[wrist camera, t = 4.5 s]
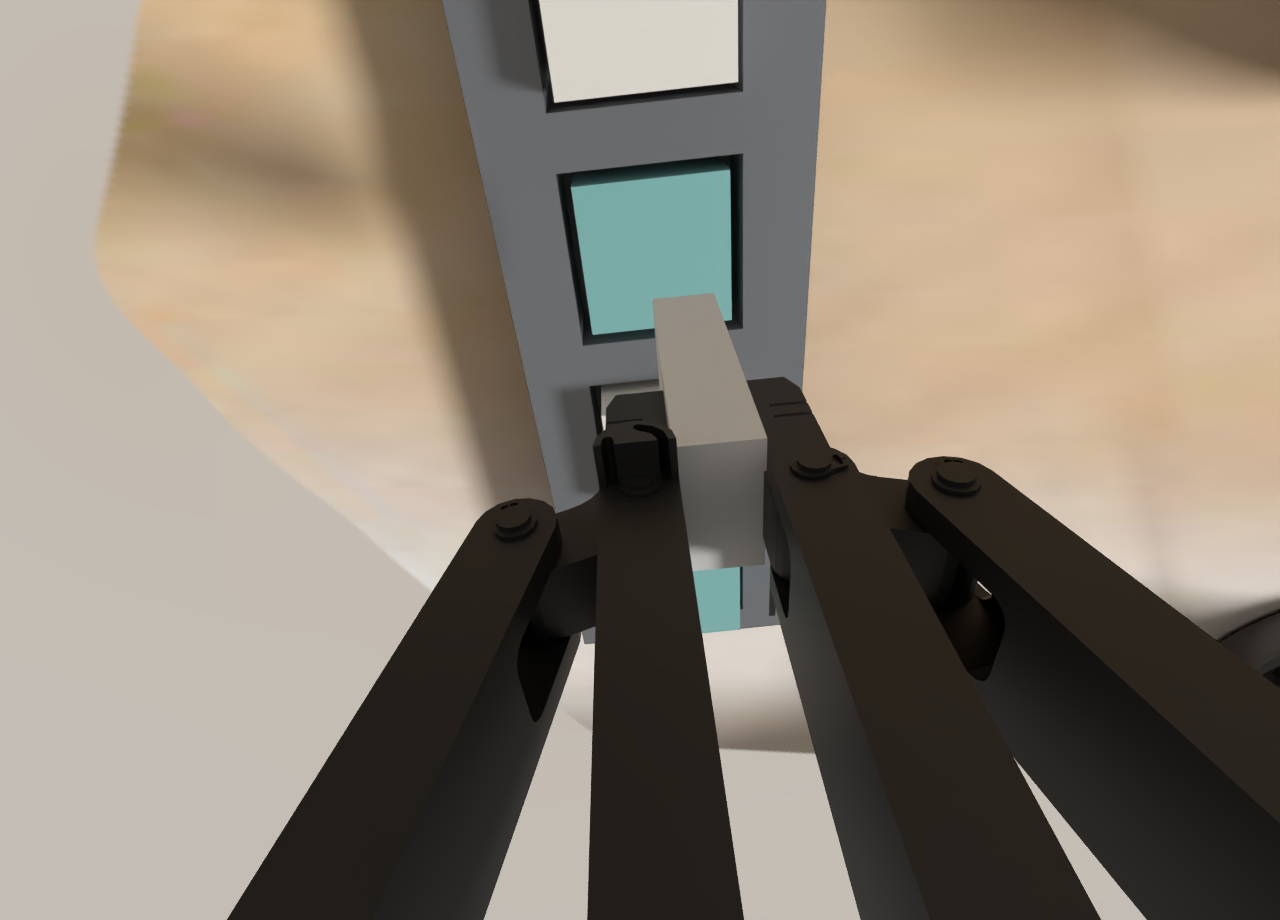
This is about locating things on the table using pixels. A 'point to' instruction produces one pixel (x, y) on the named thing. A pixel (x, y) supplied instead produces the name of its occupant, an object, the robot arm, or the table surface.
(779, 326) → the keyboard
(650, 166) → the teal key
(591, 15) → the white key
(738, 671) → the table surface
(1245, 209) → the table surface
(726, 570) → the teal key
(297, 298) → the table surface
